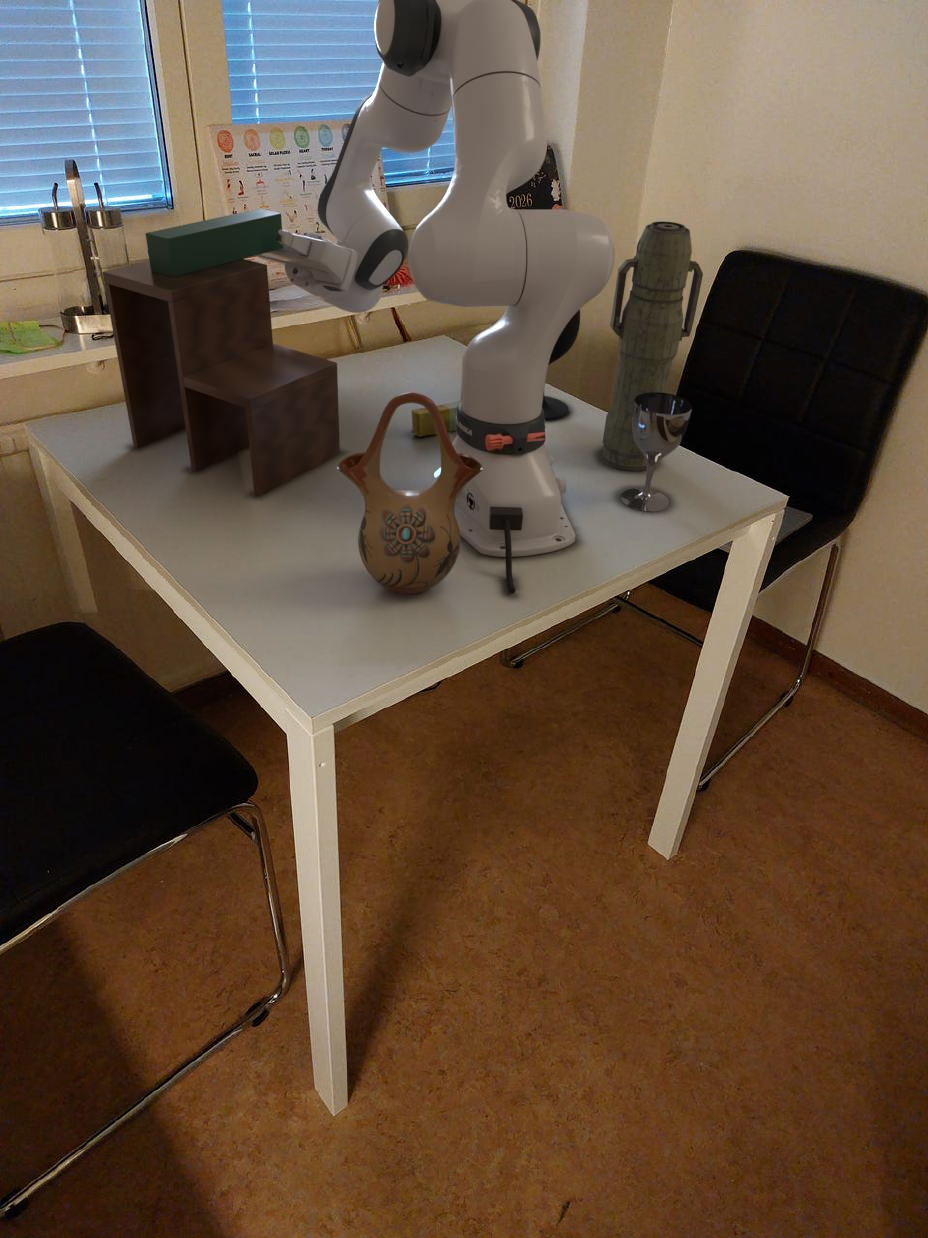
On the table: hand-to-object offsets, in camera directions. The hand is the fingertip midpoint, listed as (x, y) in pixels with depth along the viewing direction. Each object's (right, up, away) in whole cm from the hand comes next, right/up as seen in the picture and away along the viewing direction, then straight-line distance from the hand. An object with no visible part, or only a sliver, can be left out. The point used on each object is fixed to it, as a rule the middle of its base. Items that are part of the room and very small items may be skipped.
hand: (257, 229), depth 134 cm
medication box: (+28, -27, +14) cm, 42 cm away
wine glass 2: (+58, -41, -2) cm, 71 cm away
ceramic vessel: (+24, -54, -24) cm, 64 cm away
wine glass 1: (+44, -21, +24) cm, 55 cm away
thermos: (+57, -33, +9) cm, 67 cm away
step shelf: (-4, -32, +4) cm, 33 cm away
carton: (-4, -6, -4) cm, 8 cm away
